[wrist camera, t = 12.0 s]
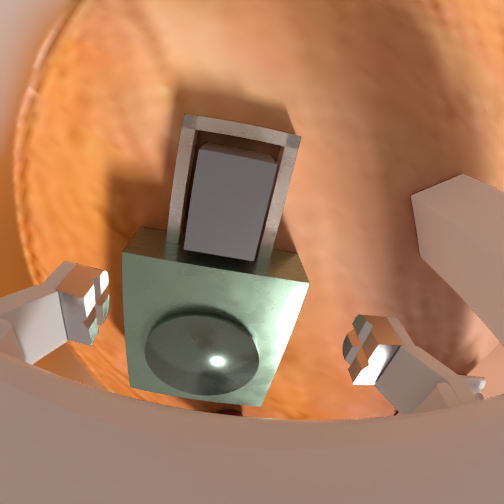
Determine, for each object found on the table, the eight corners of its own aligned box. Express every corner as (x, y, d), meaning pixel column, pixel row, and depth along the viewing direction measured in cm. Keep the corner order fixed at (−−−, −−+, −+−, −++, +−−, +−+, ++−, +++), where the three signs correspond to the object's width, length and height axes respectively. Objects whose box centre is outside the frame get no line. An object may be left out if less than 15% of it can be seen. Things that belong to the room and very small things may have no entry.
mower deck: (328, 143, 22) (355, 153, 17) (258, 372, 33) (261, 412, 28) (154, 110, 20) (130, 110, 15) (140, 354, 31) (128, 392, 26)
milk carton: (419, 256, 27) (534, 388, 10) (409, 194, 24) (568, 314, 7) (467, 232, 26) (585, 335, 9) (461, 172, 24) (612, 258, 6)
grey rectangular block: (269, 154, 23) (277, 164, 18) (250, 233, 26) (253, 261, 21) (206, 142, 22) (198, 149, 18) (193, 223, 25) (183, 249, 21)
